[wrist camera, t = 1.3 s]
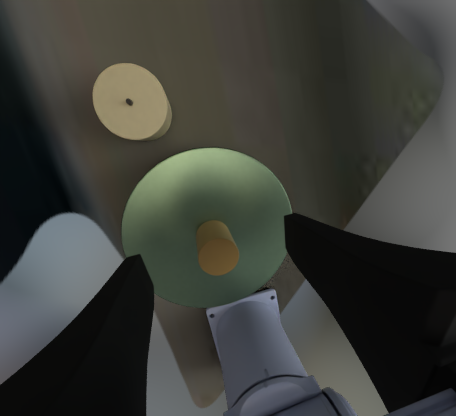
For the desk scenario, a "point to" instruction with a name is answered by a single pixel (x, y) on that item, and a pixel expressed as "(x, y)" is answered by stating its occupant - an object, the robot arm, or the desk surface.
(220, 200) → the tin lid
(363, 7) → the desk surface
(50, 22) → the desk surface
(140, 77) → the candle
